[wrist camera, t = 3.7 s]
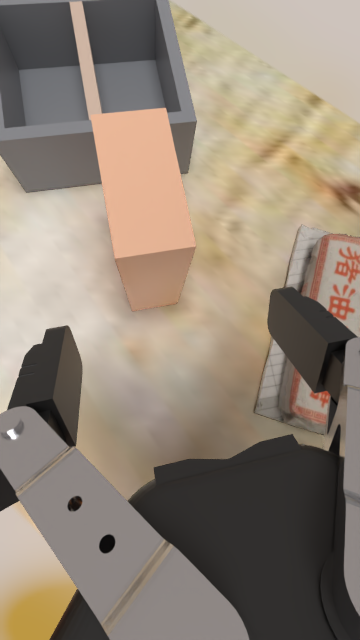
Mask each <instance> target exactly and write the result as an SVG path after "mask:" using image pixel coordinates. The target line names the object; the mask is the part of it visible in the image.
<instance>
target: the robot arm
mask: <svg viewBox="0 0 360 640" xmlns="http://www.w3.org/2000/svg"><path fill="white" fill-rule="evenodd" d="M268 329H269V332H270V334H271V336H272V337H273V339H274V340H275V341H276V343H277V344H278V345H279V347H280V348H281V349H282V351H283V352H284V353H285V355H286V356H287V358H288V359H289V360H290V362H291V363H292V364H293V366H294V367H295V368H296V370H297V371H298V372H299V374H300V375H301V376H302V378H303V379H304V380H305V382H306V383H307V384H308V386H309V387H310V388H311V390H312V391H313V392H314V394H315V393H320V392H324V391H327V392H328V393H329V394H330V397H329V400H328V408H327V417H326V427H325V436H324V444H323V449H321V448H317V447H313V446H306V445H298V443H297V441H296V439H295V438H294V436H293V434H291V435H287V436H283V437H278V438H274V439H270V440H266V441H262V442H259V443H257V444H255V445H254V446H252V447H250V448H248V449H246V450H245V451H243V452H241V453H239V454H237V455H236V456H234V457H232V458H230V459H187V460H183V461H179V462H175V463H170V464H166V465H162V466H158V467H154V473H155V479H154V480H152V481H150V482H149V483H147V484H146V485H144V486H143V487H142V488H140V489H139V490H138V491H137V492H136V493H135V494H134V495H133V496H132V497H131V498H130V499H129V500H128V501H127V500H126V499H125V498H124V497H123V496H122V495H121V494H120V493H119V492H118V491H117V490H116V489H115V488H114V487H113V486H112V485H111V484H110V483H109V482H108V481H107V480H106V479H105V477H104V476H103V475H102V474H101V473H100V472H99V471H98V470H97V469H96V468H95V467H94V466H93V465H92V464H91V463H90V462H89V461H88V460H87V459H86V458H85V457H84V456H83V455H82V454H81V452H80V451H79V450H78V449H76V448H75V446H76V440H77V429H78V417H79V406H80V394H81V383H82V362H81V357H80V354H79V352H78V349H77V346H76V343H75V341H74V338H73V335H72V332H71V330H70V328H69V326H62V327H56V328H50V329H47V330H46V332H45V335H44V339H43V343H42V344H37V345H34V346H33V347H32V348H31V349H30V350H29V352H28V353H27V354H26V355H25V357H24V360H23V363H22V368H21V369H20V372H19V377H18V378H17V381H16V384H15V387H14V390H13V393H12V396H11V400H10V403H9V406H8V409H7V411H5V412H3V413H1V414H0V511H2V510H4V509H5V508H7V507H9V506H11V505H12V504H14V503H16V502H18V501H20V502H21V503H22V505H23V507H24V508H25V510H26V511H27V513H28V514H29V516H30V517H31V519H32V520H33V522H34V523H35V525H36V526H37V528H38V529H39V531H40V532H41V534H42V535H43V537H44V538H45V540H46V541H47V543H48V544H49V546H50V547H51V549H52V550H53V552H54V553H55V555H56V557H57V558H58V560H59V561H60V563H61V564H62V566H63V567H64V569H65V570H66V572H67V573H68V575H69V576H70V578H71V579H72V581H73V582H74V584H75V585H76V587H77V588H78V589H77V590H76V592H75V594H74V596H73V598H72V600H71V602H70V603H69V605H68V607H67V609H66V611H65V612H64V614H63V616H62V618H61V620H60V622H59V624H58V625H57V627H56V629H55V631H54V633H53V634H52V636H51V638H50V640H360V337H357V336H356V335H355V334H354V333H353V332H352V331H351V330H350V329H348V328H347V327H346V326H345V325H344V324H343V323H342V322H340V321H339V320H338V319H337V318H336V317H334V316H333V314H331V313H330V312H329V311H327V309H326V308H325V307H324V306H322V305H321V304H320V303H319V302H318V301H315V300H313V299H311V298H309V297H307V296H304V297H303V296H302V295H301V294H300V293H299V292H298V291H297V290H296V289H295V288H294V287H285V288H280V289H274V290H272V292H271V295H270V304H269V313H268Z"/></svg>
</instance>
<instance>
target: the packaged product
mask: <svg viewBox="0 0 360 640" xmlns="http://www.w3.org/2000/svg"><path fill="white" fill-rule="evenodd" d="M285 287H294V288H295V289H296V290H297V291H298V292H299V293H300V294H301V295H302V296H303V297H304V296H307V297H309V298H311V299H313V300H315V301H318V302H319V303H320V304H321V305H322V306H324V307H325V308H326V309H327V311H329V312H330V313H331V314H333V316H334V317H336V318H337V319H338V320H339V321H340V322H342V323H343V324H344V325H345V326H346V327H347V328H348V329H350V330H351V331H352V332H353V333H354V334H355V335H356V336H357V337H360V237H352V236H351V235H350V236H348V235H347V234H332V233H329V232H326V231H322V230H319V229H316V228H309V227H306V226H304V225H303V224H302V225H301V227H300V228H299V230H298V234H297V237H296V241H295V244H294V248H293V252H292V257H291V261H290V266H289V272H288V277H287V281H286V285H285ZM329 397H330V394H329V393H328V392H327V391H324V392H320V393H315V394H314V392H313V391H312V390H311V388H310V387H309V386H308V384H307V383H306V382H305V380H304V379H303V378H302V376H301V375H300V374H299V372H298V371H297V370H296V368H295V367H294V366H293V364H292V363H291V362H290V360H289V359H288V358H287V356H286V355H285V353H284V352H283V351H282V349H281V348H280V347H279V345H278V344H277V343H276V341H275V340H274V339H273V337H272V336H271V342H270V349H269V355H268V358H267V362H266V365H265V368H264V372H263V375H262V380H261V385H260V390H259V395H258V400H257V405H256V409H255V412H254V413H256V414H259V415H262V416H265V417H268V418H271V419H274V420H277V421H280V422H283V423H286V424H289V425H292V426H295V427H299V428H302V429H306V430H309V431H313V432H316V433H320V434H323V435H325V427H326V417H327V408H328V400H329Z"/></svg>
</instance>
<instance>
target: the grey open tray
mask: <svg viewBox="0 0 360 640" xmlns="http://www.w3.org/2000/svg"><path fill="white" fill-rule="evenodd" d="M157 108H166V110H167V115H168V119H169V124H170V128H171V133H172V137H173V142H174V147H175V151H176V156H177V160H178V165H179V169H180V174H183V173H188V170H189V164H190V158H191V152H192V146H193V140H194V134H195V129H196V123H197V120H196V116H195V112H194V107H193V103H192V99H191V95H190V90H189V86H188V82H187V78H186V73H185V69H184V65H183V61H182V57H181V52H180V48H179V44H178V40H177V35H176V31H175V27H174V23H173V18H172V14H171V10H170V6H169V1H168V0H0V155H1V157H2V158H3V160H4V161H5V162H6V164H7V165H8V167H9V168H10V170H11V171H12V173H13V174H14V175H15V177H16V178H17V180H18V181H19V183H20V184H21V185H22V187H23V188H24V190H25V191H26V192H34V191H42V190H50V189H59V188H67V187H75V186H83V185H92V184H100V183H102V180H101V175H100V169H99V163H98V157H97V151H96V145H95V139H94V133H93V127H92V122H91V116H90V115H93V114H104V113H114V112H125V111H136V110H146V109H157Z"/></svg>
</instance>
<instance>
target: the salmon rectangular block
mask: <svg viewBox="0 0 360 640" xmlns="http://www.w3.org/2000/svg"><path fill="white" fill-rule="evenodd" d="M90 116H91V122H92V127H93V133H94V139H95V145H96V151H97V157H98V163H99V169H100V175H101V180H102V186H103V192H104V198H105V204H106V210H107V216H108V222H109V227H110V233H111V239H112V245H113V251H114V257H115V261H116V264H117V267H118V270H119V273H120V276H121V279H122V282H123V285H124V288H125V291H126V294H127V297H128V300H129V303H130V306H131V309H132V311H137V310H143V309H149V308H155V307H160V306H166V305H172V304H177V303H178V300H179V297H180V294H181V291H182V288H183V285H184V282H185V279H186V276H187V273H188V270H189V267H190V264H191V261H192V258H193V255H194V252H195V249H196V243H195V238H194V234H193V229H192V224H191V220H190V215H189V211H188V206H187V201H186V197H185V192H184V188H183V183H182V179H181V174H180V169H179V165H178V160H177V156H176V151H175V147H174V142H173V137H172V133H171V128H170V124H169V119H168V115H167V110H166V108H157V109H146V110H136V111H125V112H114V113H104V114H93V115H90Z"/></svg>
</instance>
